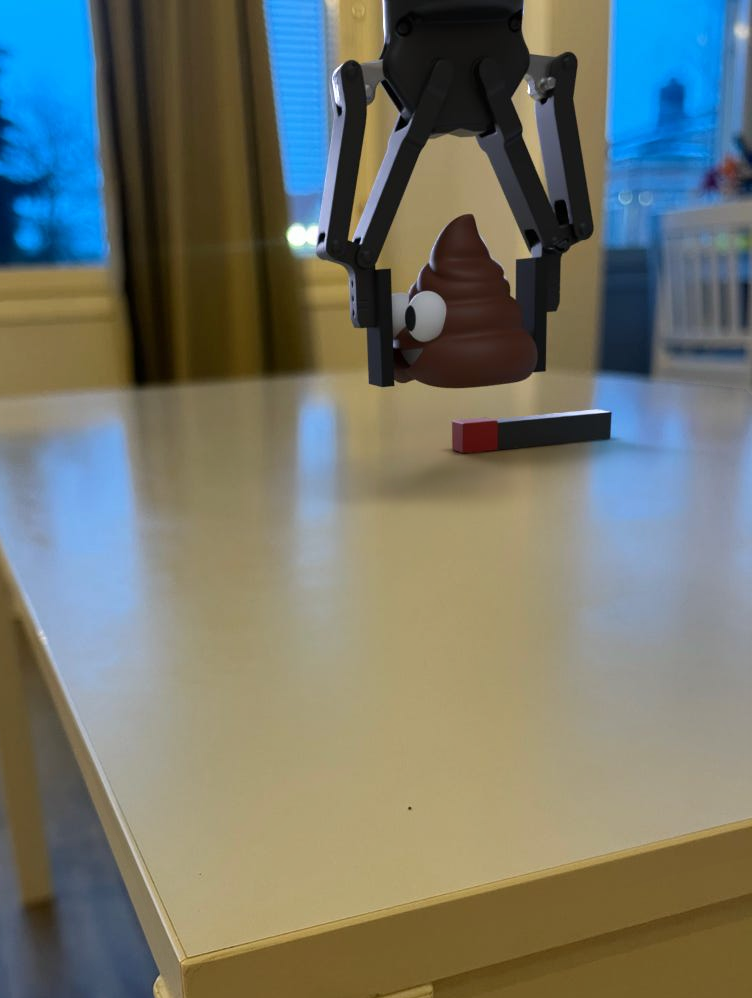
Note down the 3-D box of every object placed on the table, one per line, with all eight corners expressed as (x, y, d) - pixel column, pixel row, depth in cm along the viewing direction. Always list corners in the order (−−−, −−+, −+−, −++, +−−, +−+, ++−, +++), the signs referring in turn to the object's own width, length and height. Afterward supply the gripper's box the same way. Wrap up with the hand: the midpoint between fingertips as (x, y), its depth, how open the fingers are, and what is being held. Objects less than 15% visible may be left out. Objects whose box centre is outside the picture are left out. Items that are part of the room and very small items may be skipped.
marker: (596, 435, 84) (597, 406, 83) (611, 439, 82) (612, 409, 81) (451, 449, 82) (451, 420, 81) (462, 453, 79) (462, 423, 79)
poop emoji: (568, 378, 57) (573, 203, 54) (441, 394, 54) (438, 210, 51) (472, 371, 66) (471, 219, 63) (358, 384, 63) (351, 226, 60)
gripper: (602, -40, 58) (589, 358, 65) (240, -32, 54) (270, 389, 62) (677, -87, 51) (653, 365, 58) (267, -82, 47) (298, 400, 55)
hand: (456, 377), depth 60 cm, fingers closed on poop emoji, 9 cm apart
